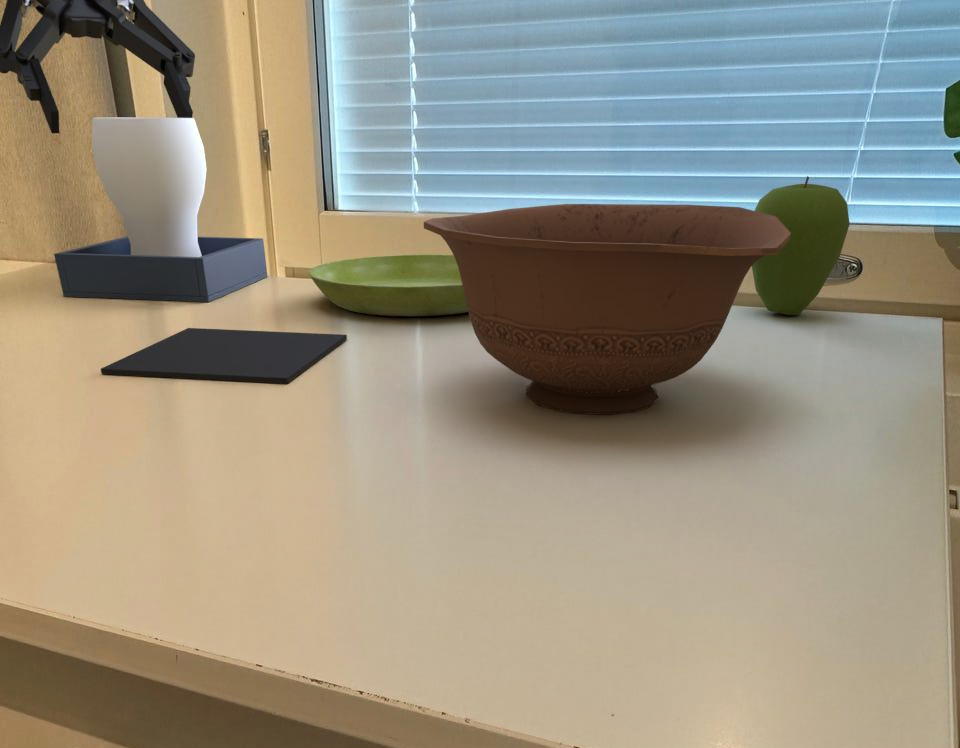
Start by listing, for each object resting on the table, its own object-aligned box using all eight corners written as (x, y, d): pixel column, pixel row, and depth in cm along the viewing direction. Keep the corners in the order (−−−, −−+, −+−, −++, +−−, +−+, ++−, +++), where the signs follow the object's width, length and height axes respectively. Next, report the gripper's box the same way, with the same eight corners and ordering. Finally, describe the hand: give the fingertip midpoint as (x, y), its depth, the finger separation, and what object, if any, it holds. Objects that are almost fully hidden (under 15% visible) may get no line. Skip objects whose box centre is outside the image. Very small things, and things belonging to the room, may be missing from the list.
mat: (101, 374, 63) (100, 368, 63) (188, 332, 75) (188, 327, 75) (287, 383, 61) (286, 378, 61) (347, 339, 73) (346, 334, 73)
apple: (738, 303, 88) (757, 172, 82) (827, 308, 86) (854, 174, 80) (735, 320, 80) (756, 177, 75) (833, 326, 79) (862, 180, 73)
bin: (63, 296, 89) (53, 253, 87) (139, 272, 102) (132, 234, 100) (208, 302, 87) (202, 258, 85) (267, 276, 100) (263, 238, 98)
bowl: (836, 414, 56) (877, 223, 50) (544, 474, 46) (554, 247, 41) (622, 344, 72) (635, 194, 66) (374, 378, 63) (364, 206, 57)
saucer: (532, 287, 95) (533, 255, 93) (509, 328, 77) (510, 289, 76) (344, 281, 97) (342, 250, 96) (281, 319, 80) (277, 281, 78)
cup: (242, 277, 97) (222, 118, 89) (175, 292, 88) (147, 118, 81) (166, 270, 100) (141, 117, 93) (95, 284, 92) (61, 117, 84)
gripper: (171, -1, 105) (233, 148, 102) (-66, -16, 93) (-3, 152, 90) (177, -64, 98) (243, 93, 95) (-77, -88, 86) (-10, 90, 84)
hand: (124, 122), depth 93 cm, fingers open, 13 cm apart
